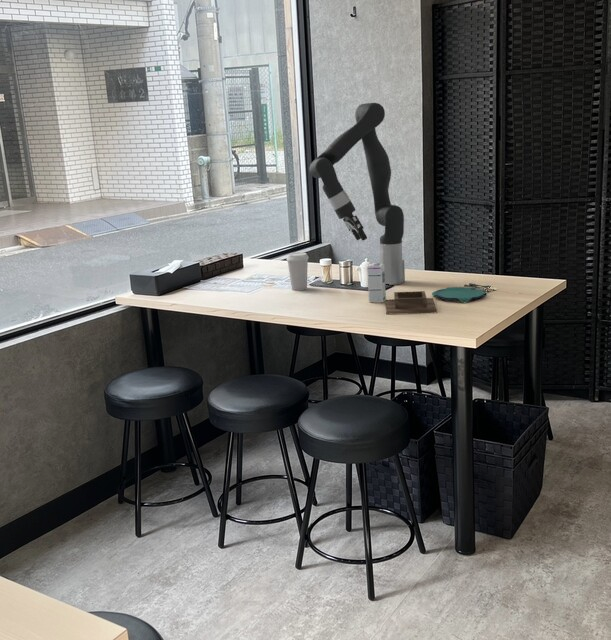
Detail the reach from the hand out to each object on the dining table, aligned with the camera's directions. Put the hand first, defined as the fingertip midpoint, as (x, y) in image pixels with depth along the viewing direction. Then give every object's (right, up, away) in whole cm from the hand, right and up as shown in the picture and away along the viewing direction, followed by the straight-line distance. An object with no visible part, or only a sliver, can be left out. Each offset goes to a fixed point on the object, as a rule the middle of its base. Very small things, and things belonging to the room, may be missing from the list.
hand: (362, 239), depth 308 cm
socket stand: (+16, -28, -21) cm, 39 cm away
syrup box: (+5, -25, -8) cm, 27 cm away
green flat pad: (+40, -23, -6) cm, 47 cm away
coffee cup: (-25, -19, +22) cm, 38 cm away
